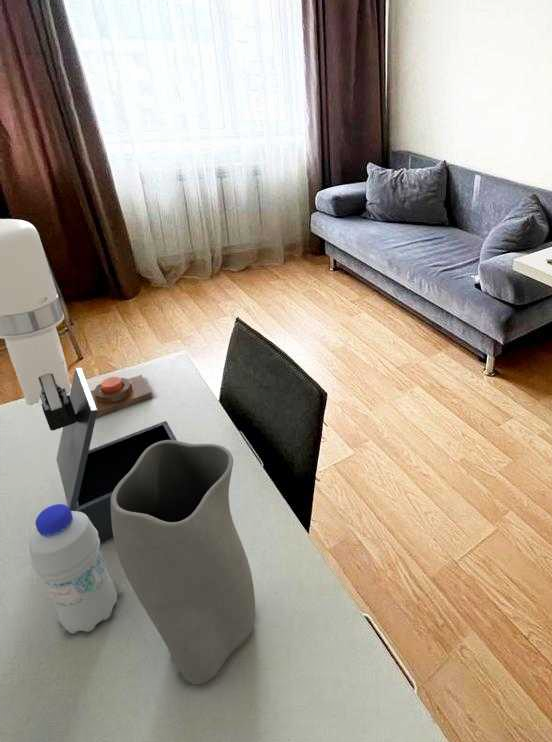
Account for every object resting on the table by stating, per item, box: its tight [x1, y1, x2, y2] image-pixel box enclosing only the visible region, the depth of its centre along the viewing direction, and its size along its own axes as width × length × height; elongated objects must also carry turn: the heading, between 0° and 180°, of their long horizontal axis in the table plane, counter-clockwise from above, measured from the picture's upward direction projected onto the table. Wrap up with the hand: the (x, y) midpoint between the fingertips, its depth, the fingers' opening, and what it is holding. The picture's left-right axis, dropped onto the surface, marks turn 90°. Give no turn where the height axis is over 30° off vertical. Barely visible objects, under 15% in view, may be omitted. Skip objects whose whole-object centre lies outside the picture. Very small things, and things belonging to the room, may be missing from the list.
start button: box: [100, 376, 123, 393], centre depth 103 cm, size 4×4×2 cm
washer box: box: [72, 420, 178, 544], centre depth 82 cm, size 16×13×9 cm
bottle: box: [28, 503, 118, 634], centre depth 63 cm, size 7×7×20 cm
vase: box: [111, 440, 257, 686], centre depth 59 cm, size 12×12×30 cm
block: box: [90, 374, 153, 419], centre depth 105 cm, size 12×8×4 cm, turn 132°
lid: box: [56, 367, 98, 511], centre depth 74 cm, size 16×13×1 cm
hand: (63, 423), depth 72 cm, fingers closed
